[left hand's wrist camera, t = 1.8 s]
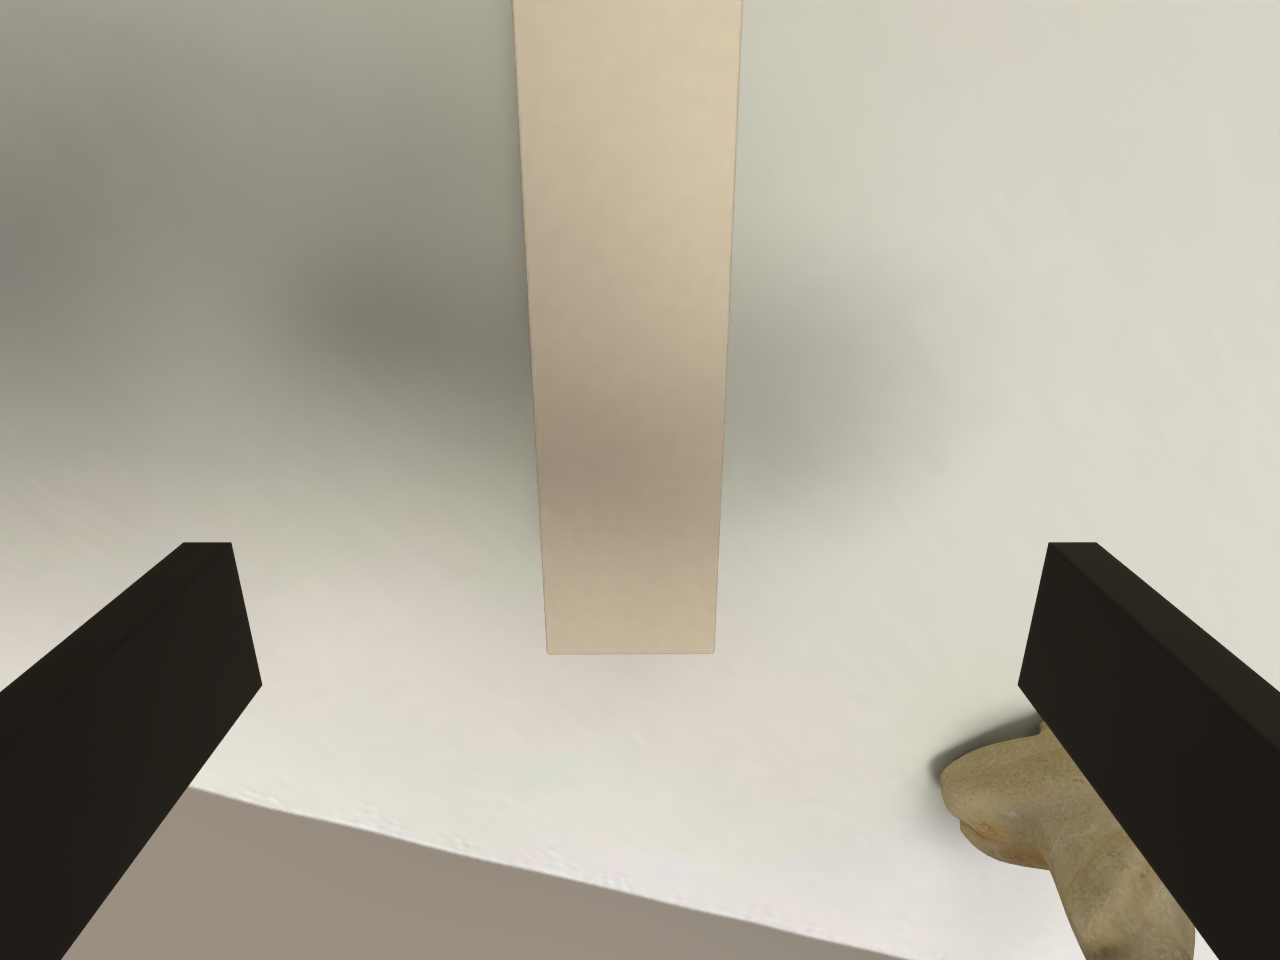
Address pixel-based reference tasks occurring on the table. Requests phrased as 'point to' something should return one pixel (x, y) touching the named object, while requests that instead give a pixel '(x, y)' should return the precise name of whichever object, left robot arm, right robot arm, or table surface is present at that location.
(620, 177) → the bar
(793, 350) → the table surface
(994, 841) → the sculpture
